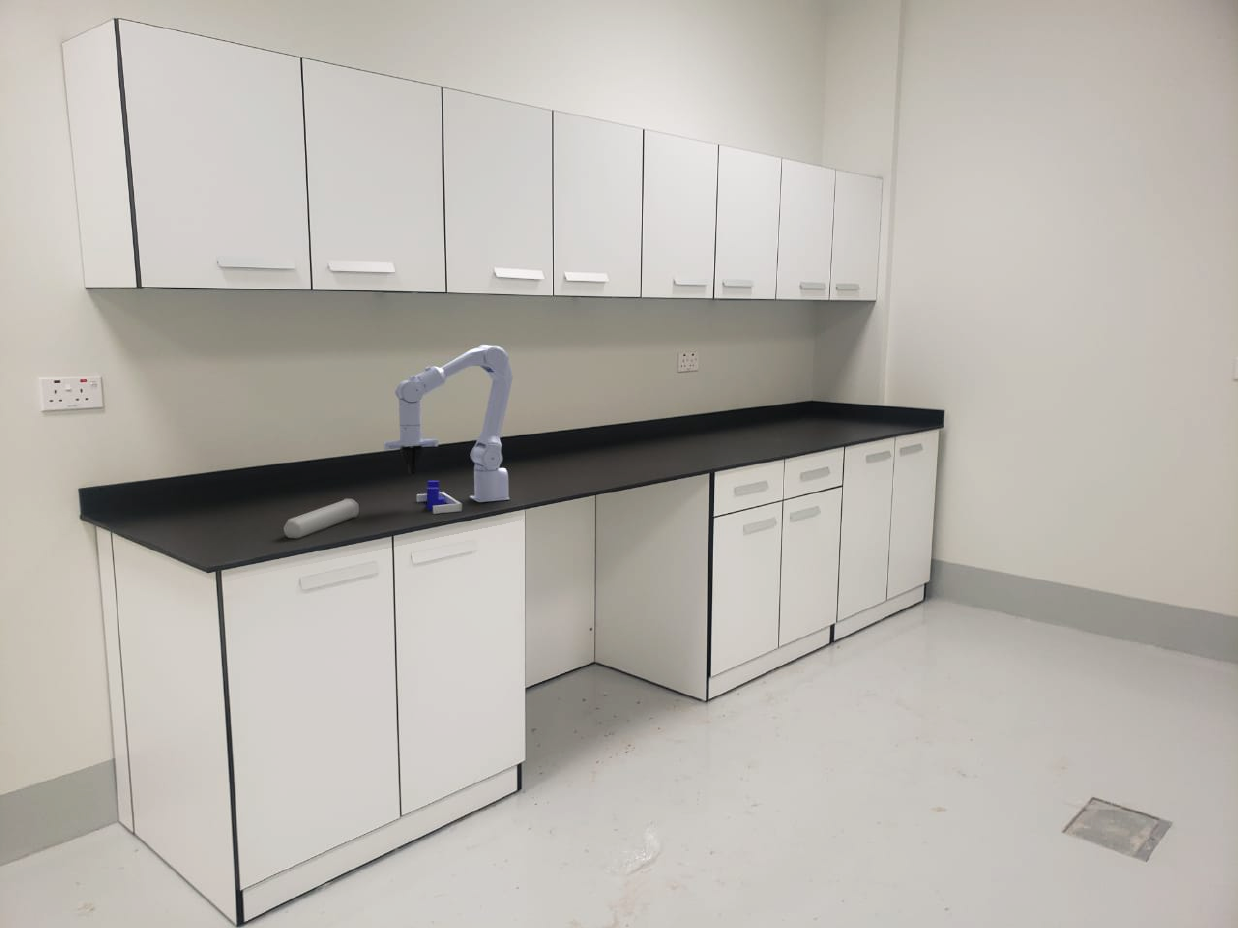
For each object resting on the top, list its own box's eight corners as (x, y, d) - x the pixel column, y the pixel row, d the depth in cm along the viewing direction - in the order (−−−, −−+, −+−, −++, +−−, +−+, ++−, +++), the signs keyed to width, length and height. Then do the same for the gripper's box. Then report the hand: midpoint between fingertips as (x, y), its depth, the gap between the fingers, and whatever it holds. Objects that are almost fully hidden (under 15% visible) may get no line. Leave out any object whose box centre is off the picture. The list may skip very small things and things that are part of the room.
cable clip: (444, 510, 240) (443, 488, 239) (427, 510, 239) (426, 488, 238) (444, 500, 252) (444, 480, 251) (428, 501, 251) (428, 480, 250)
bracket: (443, 498, 254) (443, 492, 254) (462, 510, 238) (461, 503, 238) (416, 501, 250) (416, 494, 250) (433, 513, 235) (433, 506, 235)
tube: (300, 525, 206) (361, 502, 229) (281, 516, 207) (344, 495, 230) (295, 545, 207) (356, 521, 231) (276, 536, 208) (339, 513, 232)
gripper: (432, 421, 246) (433, 469, 248) (380, 424, 239) (382, 473, 242) (439, 424, 240) (441, 473, 242) (386, 427, 233) (388, 477, 236)
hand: (412, 473), depth 242 cm, fingers closed
